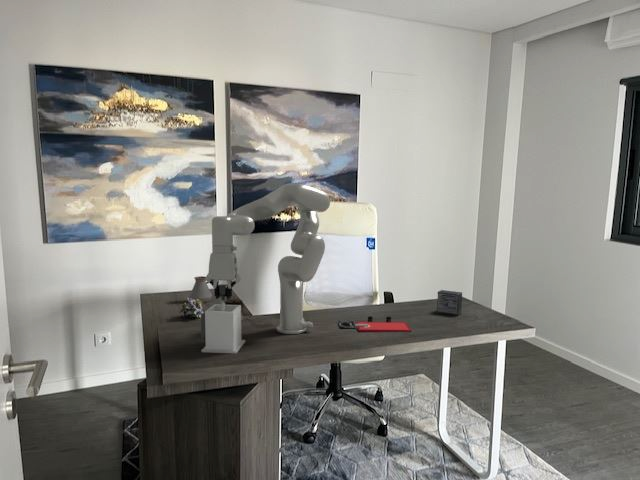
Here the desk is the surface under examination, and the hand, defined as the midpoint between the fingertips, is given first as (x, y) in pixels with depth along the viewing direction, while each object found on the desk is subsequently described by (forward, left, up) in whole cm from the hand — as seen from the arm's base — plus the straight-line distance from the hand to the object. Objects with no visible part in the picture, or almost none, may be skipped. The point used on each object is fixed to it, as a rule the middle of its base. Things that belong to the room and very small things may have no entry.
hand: (223, 297), depth 176 cm
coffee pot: (+28, -68, -19) cm, 77 cm away
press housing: (0, 0, -19) cm, 19 cm away
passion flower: (+27, -37, -19) cm, 50 cm away
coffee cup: (+2, -20, -19) cm, 28 cm away
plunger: (0, 0, -15) cm, 15 cm away
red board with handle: (-57, -34, -20) cm, 69 cm away
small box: (-94, -61, -19) cm, 114 cm away
